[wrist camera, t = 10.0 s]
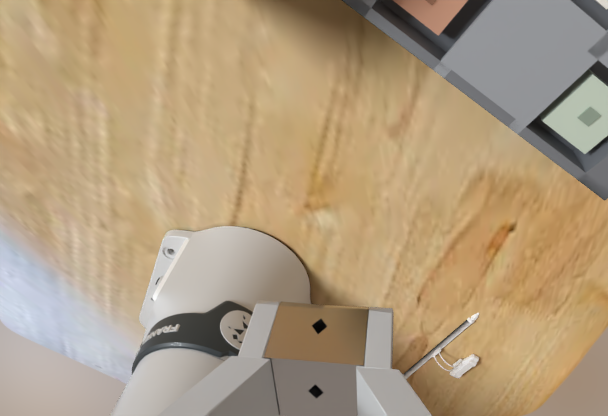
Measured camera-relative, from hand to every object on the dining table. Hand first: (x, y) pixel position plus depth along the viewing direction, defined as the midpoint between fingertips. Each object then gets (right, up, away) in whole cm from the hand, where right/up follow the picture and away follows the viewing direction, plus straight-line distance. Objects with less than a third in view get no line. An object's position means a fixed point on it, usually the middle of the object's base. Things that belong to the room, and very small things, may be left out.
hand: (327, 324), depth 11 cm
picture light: (+15, -13, +44) cm, 48 cm away
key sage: (+18, +9, +23) cm, 31 cm away
